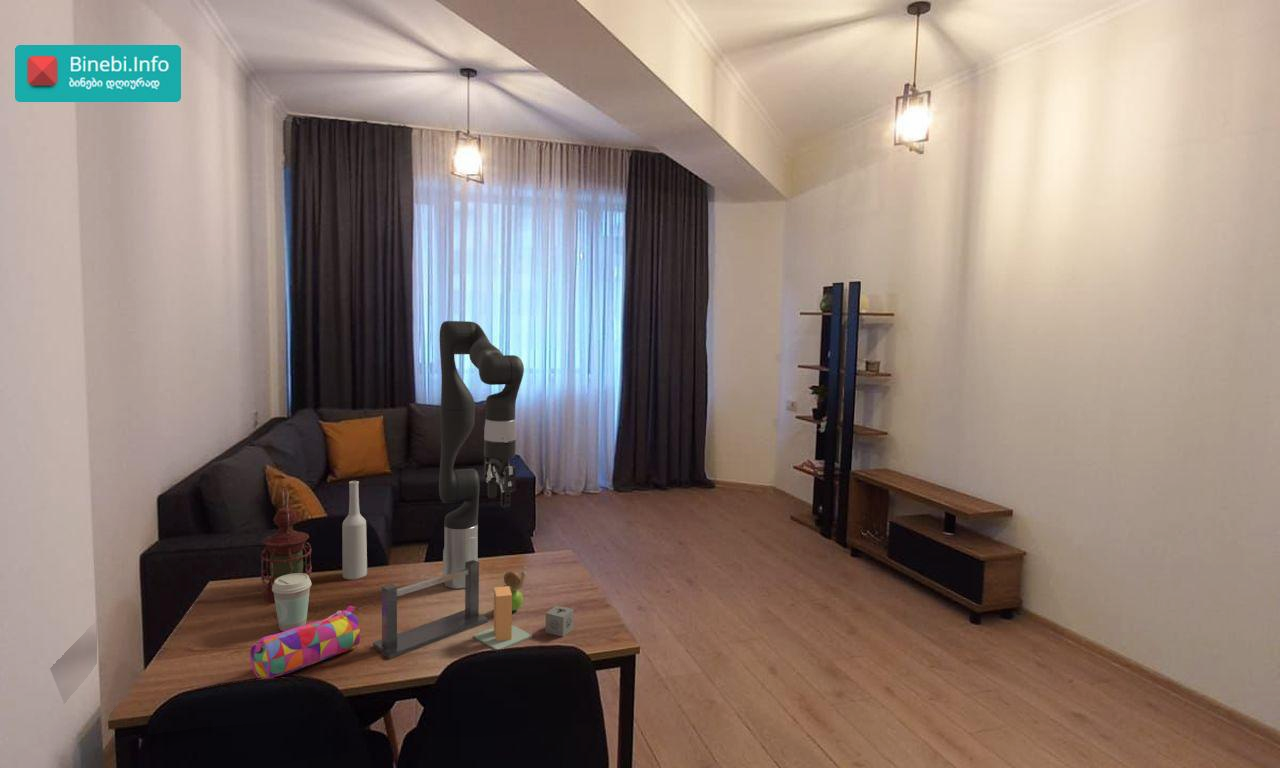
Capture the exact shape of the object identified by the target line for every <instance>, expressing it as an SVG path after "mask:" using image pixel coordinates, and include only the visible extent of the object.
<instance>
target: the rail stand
mask: <svg viewBox="0 0 1280 768" xmlns="http://www.w3.org/2000/svg"><path fill="white" fill-rule="evenodd" d="M462 576H465V588H464V599H465V600H464V601H465V602H464V610H461V611H459V612H454V613H453V614H450V615H446V616H444V617H442V618H438V619H436V620H433V621H430V622H427V623H424V624H421V625H418V626H416V627H412V628H410V629H406V630H404V631H401V632H398V597H399V596H403V595H406V594H410V593H413V592H416V591H419V590H422V589H425V588H429V587H431V586H436V585H439V584H442V583H444V582H446V581H449V580H452V579H455V578H459V577H462ZM479 588H480V562H479V561H478V560H477V561H475V560H471V561H468V562H465V569H462V570H459V571H456V572H452V573H449V574H446V575H443V574H442V575H439V576H436V577H433V578H430V579H427V580H423V581H420V582H416V583H413V584H409V585H406V586H402V587H400V588H398V587H397V586H396V585H395V584H393V583H390V584H387V585H386V584H385V585H382V586H381V639H379V640H376V641H373V642H372V647H373V648H374V649H376V650H377V651H378V652H380V653H381V654H383V655H384V656H385V657H386V658H388V659H389V660H392V659H393V658H396V657H399V656H402V655H404V654H407V653H409V652H412V651H415V650H418V649H420V648H423V647H425V646H428V645H431V644H433V643H436V642H439V641H441V640H445V639H448V638H449V637H452V636H454V635H457V634H459V633H463V632H465V631H467V630H470V629H474V628H475V627H478V626H480V625H484V624H486V623H488V622H489V621H488V620H489V619H488V617H486V616H485V615H482V614H480V613H479V611H480V609H479V606H480V605H479V602H480V601H479V599H480V596H479V595H480V594H479V593H480V589H479Z"/></svg>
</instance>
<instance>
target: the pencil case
mask: <svg viewBox="0 0 1280 768" xmlns="http://www.w3.org/2000/svg"><path fill="white" fill-rule="evenodd" d="M355 608H356V607H355V606H352V605H348V607H346V610H337V611H336V612H335V613H333V614H332V615H329V616H328V617H327V618H325V619H323V620H317V621H313V622H309V623H306V625H304V626H300V627H297V628H293V629H290V630H287V631H282V632H279V633H275V634H271V635H267V636H263V637H262V638H260V639H259V640H258V641H256V642H255V643H254V644H253V645H251V647H250V650H249V655H250V657H249V658H250V664H251V668H252V671H253V673H254V674H255V676H256V677H257V678H258V679H259V678H272V679H273V678H275V677H280V676H283V675H288V674H291V673H293V672H296V671H298V670H300V669H302V668H304V667H308V666H311V665H314V664H317V663H319V662H322V661H324V660H326V659H329V658H331V657H335V656H337V655H340V654H342V653H346V652H348V651H351V650H353V649H355V648H357V647H358V646H359V645H360V641H361V631H360V625H359V620H358V618H357V616H356V615H355V614H354V613H353V612H354V611H355Z"/></svg>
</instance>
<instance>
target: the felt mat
mask: <svg viewBox="0 0 1280 768" xmlns="http://www.w3.org/2000/svg"><path fill="white" fill-rule="evenodd" d="M472 638H474V639H476V640H478V641H480V642H481V643H483V644H485V645H486V646H488V647H489V648H491V649H493V650H494V651H496V649H503V650H505V649H507V648H510V647H512V646H514V645H516V644H518V643H519V644H520V643H521V642H523V641H526V640H528V639H531V638H533V635H532V634H531V633H529V632H526V631H525V630H523V629H521V628H519V627H517V626H516V625H513V624H512V640H503V641H496V639H495V634H494V626H493V627H490V628H488V629H485V630H483V631H479V632H477V633H475V634H473V635H472ZM504 648H505V649H504Z"/></svg>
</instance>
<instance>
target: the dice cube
mask: <svg viewBox="0 0 1280 768" xmlns="http://www.w3.org/2000/svg"><path fill="white" fill-rule="evenodd" d="M574 613H575V609H573V608H569V607H565V606H561V605H554V606H553V607H552V608H551V609H549V610H548V611H546V613H545V633H547V634H550V635H555V636H558V637H563V638H564V637H565V636H566V635H567V634H569V633H570V632H571V631H572V630H574V625H575V624H574V621H575V619H574V617H575V616H574Z"/></svg>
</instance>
